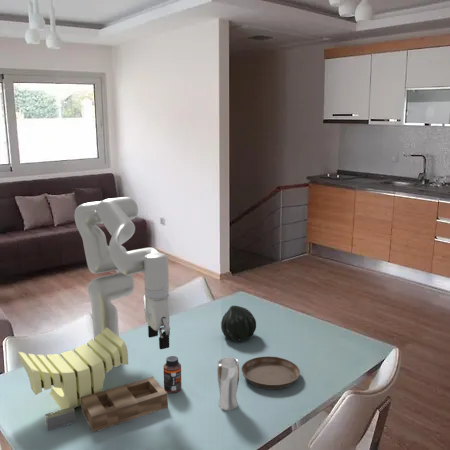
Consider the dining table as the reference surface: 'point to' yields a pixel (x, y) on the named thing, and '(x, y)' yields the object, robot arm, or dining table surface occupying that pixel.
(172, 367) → the supplement bottle
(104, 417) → the socket block
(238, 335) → the squash
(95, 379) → the slatted curved stool
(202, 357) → the dining table surface
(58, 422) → the grey stone block
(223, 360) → the beer glass
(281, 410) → the dining table surface
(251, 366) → the plant saucer
